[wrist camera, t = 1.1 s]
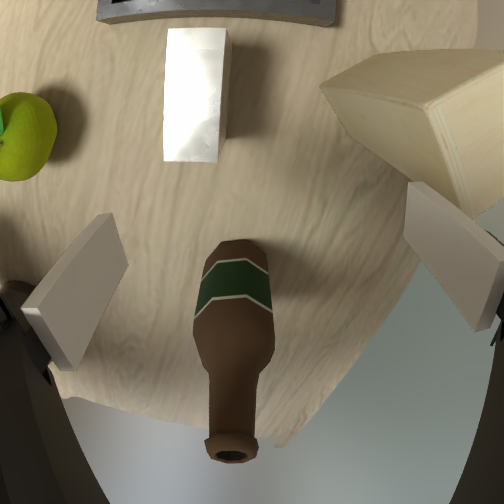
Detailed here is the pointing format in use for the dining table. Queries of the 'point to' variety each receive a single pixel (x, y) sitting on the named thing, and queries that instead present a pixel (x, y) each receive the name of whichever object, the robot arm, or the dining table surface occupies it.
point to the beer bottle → (234, 344)
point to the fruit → (25, 135)
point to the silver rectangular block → (196, 93)
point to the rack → (218, 10)
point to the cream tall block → (431, 119)
